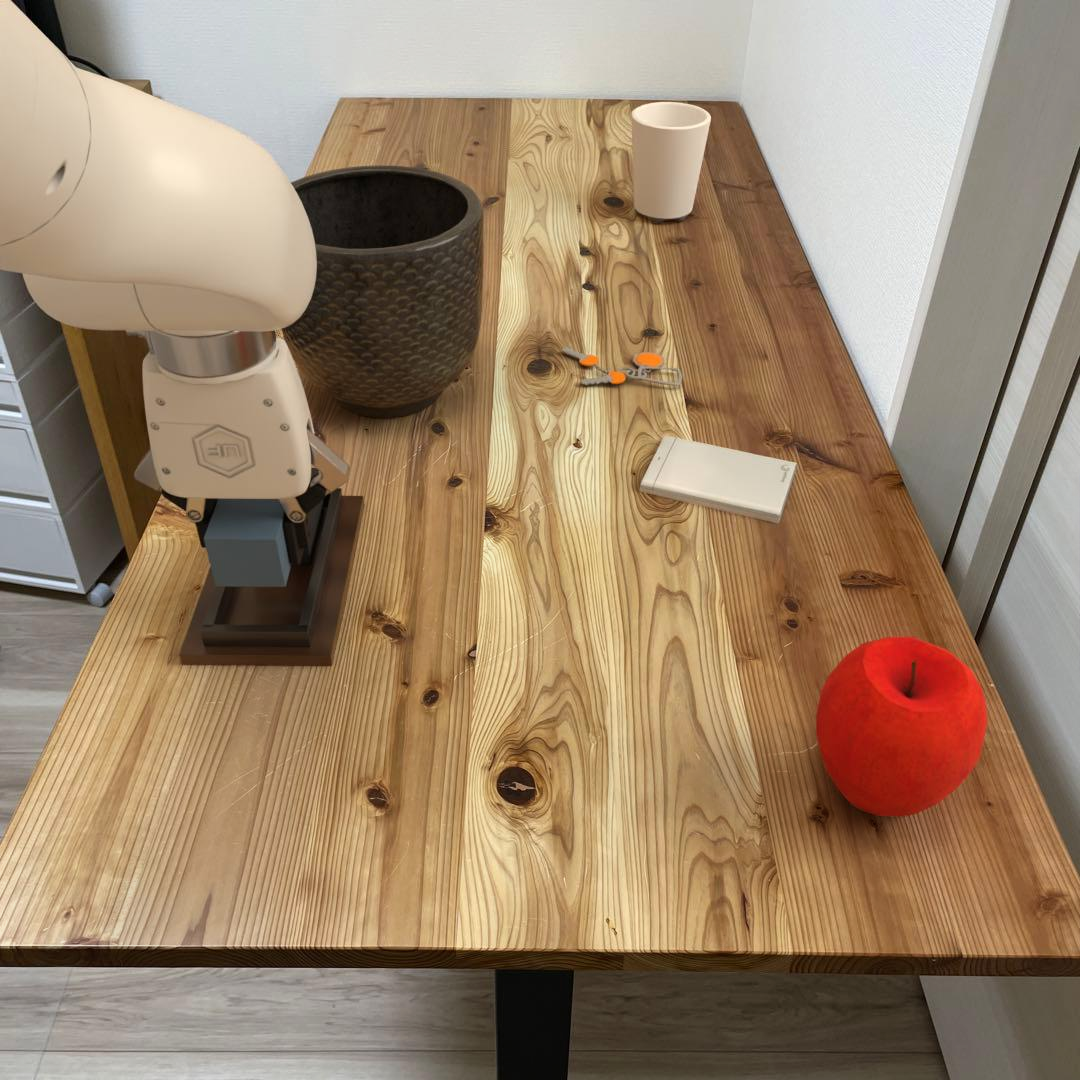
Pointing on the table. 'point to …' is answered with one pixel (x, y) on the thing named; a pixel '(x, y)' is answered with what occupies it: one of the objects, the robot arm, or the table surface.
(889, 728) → the apple
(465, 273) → the planter
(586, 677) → the table surface
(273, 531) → the blue-grey rectangular block
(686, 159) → the cup
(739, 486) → the hard drive
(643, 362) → the key chain
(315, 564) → the backing board
